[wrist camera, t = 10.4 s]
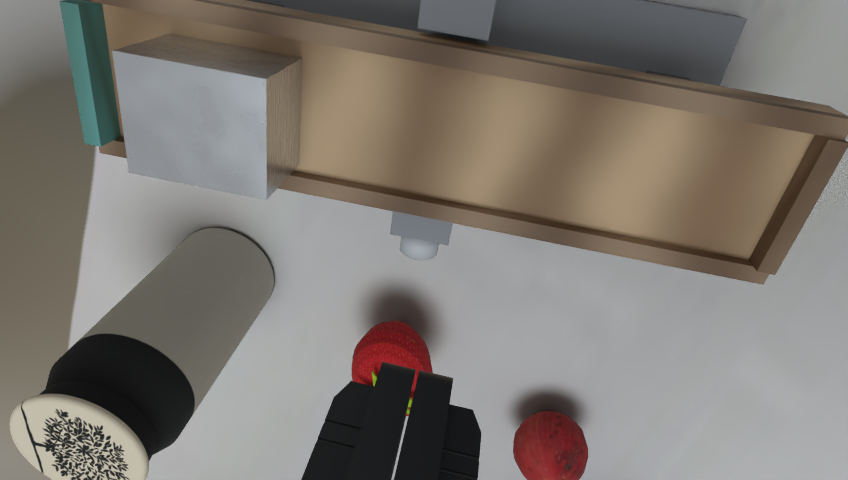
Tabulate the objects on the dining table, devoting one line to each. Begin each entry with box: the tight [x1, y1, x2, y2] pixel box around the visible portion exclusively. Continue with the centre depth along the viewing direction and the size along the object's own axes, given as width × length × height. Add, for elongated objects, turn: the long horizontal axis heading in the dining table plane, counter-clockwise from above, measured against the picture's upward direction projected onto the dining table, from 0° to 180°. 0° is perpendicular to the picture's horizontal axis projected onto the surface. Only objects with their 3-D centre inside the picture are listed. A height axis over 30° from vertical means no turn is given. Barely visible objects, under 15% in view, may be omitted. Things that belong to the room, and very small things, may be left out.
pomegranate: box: [513, 411, 588, 480], centre depth 44 cm, size 6×6×8 cm
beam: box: [60, 0, 848, 284], centre depth 24 cm, size 32×8×3 cm, turn 82°
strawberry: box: [352, 321, 433, 416], centre depth 40 cm, size 6×8×10 cm
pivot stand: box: [246, 0, 747, 260], centre depth 30 cm, size 30×14×11 cm, turn 82°
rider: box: [112, 34, 303, 200], centre depth 23 cm, size 6×5×4 cm
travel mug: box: [10, 228, 274, 480], centre depth 37 cm, size 8×8×18 cm
